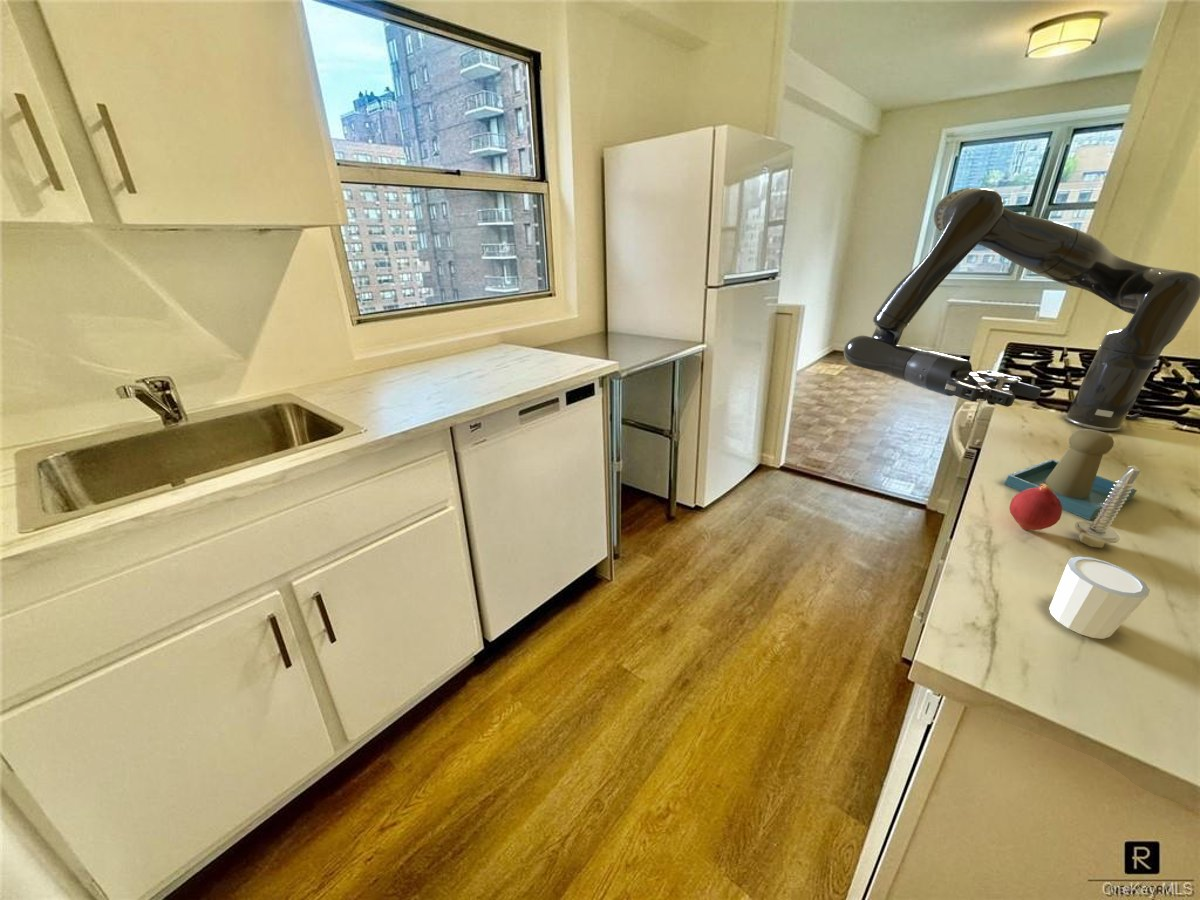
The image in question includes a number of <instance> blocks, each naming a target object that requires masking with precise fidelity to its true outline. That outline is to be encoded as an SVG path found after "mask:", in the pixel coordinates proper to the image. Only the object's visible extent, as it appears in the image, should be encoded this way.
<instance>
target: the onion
mask: <svg viewBox="0 0 1200 900" xmlns="http://www.w3.org/2000/svg"><path fill="white" fill-rule="evenodd" d="M1009 513H1010V515H1011V516H1012V518H1013V519H1014V521H1015V522H1016V523H1017V524H1018V525H1019V527H1020V528H1021V529H1022V530H1024V531H1040V530H1044V529H1048V528H1051V527H1052V526H1054V525H1057V524H1058V522H1059V521H1060V520H1061V516H1062V513H1063V509H1062V504H1061V502H1060V500H1059V498H1058V497H1057V496H1056V495H1055V494H1054V493H1053V492H1052V490H1051V489H1050V488H1049V486H1048V485H1046V484H1040V486H1039V488H1030V489H1026V490H1024V491H1019V492H1018V493H1017V494H1015V495H1014V496H1013V498H1011V500H1010V503H1009Z"/></svg>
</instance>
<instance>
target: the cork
mask: <svg viewBox="0 0 1200 900" xmlns="http://www.w3.org/2000/svg"><path fill="white" fill-rule="evenodd" d="M1068 444H1069V448H1068V449H1067V450H1066V452H1065V453H1064V454H1063V455H1062V457H1061V459H1060V460H1059V461H1058V462H1059V463H1058V464H1057V465H1056V467H1055V468H1054V469H1053V471H1052V472H1051V473H1050V475H1049V476H1048V478H1047V479H1046V480H1045V482H1044V484H1046V485H1048V486H1049V488H1050V489H1051V490H1052V491H1053V492H1055V493H1057V494H1060V495H1063V496H1067V497H1071V498H1077V499H1085V498H1088V497H1089V495H1090V492H1091V489H1092V486H1093V483H1094V480H1095V477H1096V475H1097V474H1098V472H1099V469H1100V465H1101V462H1102V459H1103V456H1104V455H1105V454H1106V455H1107V454H1108V453H1109V452H1110V451H1111V450H1112V449H1113V447H1114V445H1115V441H1114V438H1113V436H1111V435H1110V434H1108V433H1106V432H1105V431H1101V430H1095V429H1090V428H1081V429H1077V430H1075V431H1074V432H1072V434H1071V435H1070V437H1069V440H1068Z"/></svg>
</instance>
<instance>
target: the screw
mask: <svg viewBox="0 0 1200 900" xmlns="http://www.w3.org/2000/svg"><path fill="white" fill-rule="evenodd" d="M1140 472H1141V470H1140V469H1139V467H1138V466H1137V465H1129V466H1128V465H1127V467H1126V469H1125V470H1124V472H1123V473H1122V475H1121V477H1120V479H1119V480H1116V481H1115V482H1116V483H1117V484H1114V486H1115V487H1114V488H1111V489H1112V492H1110V493H1111V494H1110V495H1107V496H1108V499H1105V500H1106V502H1103V503H1104V505H1102V506H1101V507H1102V509H1099V510H1100V512H1098V516H1095V518H1093V519H1092V520H1093V521H1091V520H1080V521H1077V522H1075V523H1074V526H1073V527H1074V529H1075V530H1076V531H1077V532H1078V533H1080V534H1079V536H1078V538H1079V541H1080V543H1082V544H1085V545H1086V546H1088V547H1091V548H1104V546H1105V544H1116V543H1118V542H1119V541H1120V540H1121V537H1120V535H1119V534H1118V533H1117V531H1115V530H1114V528H1111V525H1113V522H1114V521H1115V519H1116V518H1117V515H1118V514H1119V512H1120V511H1121V508H1123V505H1124V504H1126V502H1124V500H1127V498H1126V497H1128V496H1129V494H1128V493H1131V489H1134V487H1133V486H1135V484H1136V483H1135V481H1136V479H1137V477H1138V475H1139V474H1140Z"/></svg>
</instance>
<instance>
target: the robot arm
mask: <svg viewBox="0 0 1200 900" xmlns="http://www.w3.org/2000/svg"><path fill="white" fill-rule="evenodd" d="M933 223H934V226H935V228H936V229H937V231H938V232H939V233H940V234H941V235H940V236H939V238H938V239H937V241H936V243H935V244H934V245H933V247H932V248H931V250H930V251H929V252H928V254H926V256H925V257H924V258H923V259H922V260H921V261H920V262H919V263H918V264H916V266H915V267H914V268H913V269H912V270H911V271H910V272H909V273H908V274H907V275H905V276H904V277H903V278H902V279H901V280H900V281H899V282H898V283H897V284H896V285H895V287H894V288H893V289H891V291H890V293H889V294H888V295H887V296H886V298H885V299H884V301H883V302H882V304H881V305H880V306H879V308H878V309H877V311H876V312H875V314H874V316H873V318H872V322H873V324H874V326H875V329H874V331H873V334H872V335H871V336H867V335H856V336H854V337H852V338H850V339H849V340H848V341H847V342H846V343H845V345H844V347H843V356H844V357H843V358H844V359H845V361H846V362H848V363H849V364H850V365H851V366H855V367H858V368H862V369H866V370H870V371H874V372H878V373H882V374H884V375H887V376H889V377H892V378H894V379H897V380H900V381H903V382H905V383H906V382H907V383H909V384H912V385H914V386H916V387H919V388H921V389H925V390H927V391H931V392H934V393H937V394H941V395H944V396H947V397H953V396H954V397H956V398H957V397H958V398H960V399H963V400H966V401H969V402H977V400H978V401H980V402H990V403H993V404H996V405H1000V406H1003V407H1006V408H1008V407H1011V406H1013V404H1014V402H1015V399H1016V395H1017V396H1020V397H1023V398H1028V399H1031V400H1036V399H1039V397H1040V395H1041V393H1042V391H1043V389H1042V387H1040V386H1036V385H1033V384H1029V383H1025V382H1021V381H1022V380H1023V379H1022V377H1020V376H1015V375H1012V374H1011V375H1010V374H1007V373H1006V374H1005V373H1002V372H998V371H995V370H994V371H993V370H991V369H989V370H986V371H982V370H981V371H980V370H978V371H977V372H975V371H974V370H973V368H972V367H973V366H972V363H971V361H969V360H968V359H964V358H961V357H957V356H953V355H948V354H945V353H940V352H937V351H931V350H924V349H919V348H916V347H912V346H907V345H901V344H900V345H899V342H900V340H901V337H902V336H903V332H904V331H905V329H906V328H907V327H908V326H909V324H910V323H911V322H912V320H913V319H914V317H915V316H916V315H917V314H918V312H919V311H920V310H921V308H922V307H923V306H924V304H925V303H926V302H927V300H928V299H929V298H930V297H931V295H932V294H933V293H934V292H935V290H936V289H937V288H938V287H939V286H940V285H941V284H942V282H944V280H945V279H946V278H947V277H948V276H949V275H950V273H952V272H953V270H955V268H956V267H957V266H958V265H959V264H960V263H961V262H962V261H963V260H964V259H965V258H966V257H967V256H968V255H969V253H971V252H972V251H973V250H974V249H975V248H976V247H977V246H982V247H984V248H986V249H989V250H990V251H992V252H994V253H996V254H998V255H1000V256H1001V257H1003V258H1004V259H1006V260H1008V261H1010V262H1012V263H1014V264H1016V265H1018V266H1019V267H1022V268H1024V269H1026V270H1027V271H1030V272H1031V273H1034V274H1036V275H1039V276H1041V277H1044V278H1046V279H1048V280H1051V281H1053V282H1057V283H1059V284H1063V285H1065V286H1069V287H1073V288H1077V289H1081V290H1085V291H1087V292H1090V293H1091V294H1093V295H1095V296H1097V297H1098V298H1101V299H1103V300H1104V301H1106V302H1107V303H1109V304H1110V305H1112V306H1114V307H1115V308H1117V309H1119V310H1120V311H1123V312H1125V313H1128V314H1130V315H1133V316H1132V317H1131V319H1130V321H1129V322H1128V324H1127V325H1126V326H1125V327H1124V328H1122V329H1119V330H1113V331H1109V332H1107V333H1106V334H1105V335H1104V336H1103V338H1102V340H1101V342H1100V345H1099V346H1098V349H1097V351H1096V353H1095V355H1094V357H1093V360H1092V361H1091V363H1090V366H1089V367H1088V369H1087V371H1086V373H1085V375H1084V377H1083V379H1082V382H1081V384H1080V385H1079V388H1078V390H1077V392H1076V394H1075V395H1074V398H1073V400H1072V402H1071V404H1070V406H1069V408H1068V410H1067V412H1066V413H1065V415H1064V419H1065V420H1066V421H1067V422H1069V423H1071V424H1074V425H1076V426H1079V427H1082V428H1085V429H1092V430H1097V431H1101V432H1118V431H1120V429H1121V428H1122V425H1123V423H1124V421H1125V420H1129V421H1130V420H1136V419H1138V418H1142V417H1144V416H1143V415H1140V414H1139V413H1135V414H1133V415H1129V412H1131V411H1132V409H1133V408H1134V405H1135V404H1136V402H1137V398H1138V396H1139V394H1140V392H1141V391H1142V389H1143V387H1144V386H1145V383H1146V381H1147V379H1148V377H1149V376H1150V374H1151V372H1152V371H1153V368H1154V367H1155V365H1156V363H1157V361H1158V359H1159V358H1160V355H1161V354H1162V352H1163V350H1164V349H1165V347H1167V346H1168V345H1169V344H1170V343H1171V342H1173V340H1175V338H1176V337H1177V336H1178V334H1179V333H1180V331H1181V330H1182V329H1183V327H1184V325H1185V323H1186V322H1187V320H1188V319H1189V317H1190V316H1191V314H1192V312H1193V311H1194V309H1195V307H1196V306H1197V304H1198V302H1199V301H1200V277H1199V275H1197V274H1195V273H1193V272H1190V271H1184V270H1178V269H1170V268H1163V267H1156V266H1155V267H1154V266H1150V265H1146V264H1145V265H1144V264H1141V263H1137V262H1134V261H1131V260H1128V259H1124V258H1122V257H1120V256H1117V255H1116V254H1115V253H1113V252H1112V251H1111V250H1110V249H1109V247H1108V246H1107V245H1106V244H1105V243H1103V241H1101V240H1100V239H1098V238H1097V237H1095V236H1093V235H1092V234H1089V233H1087V232H1084V231H1082V230H1080V229H1077V228H1075V227H1072V226H1070V225H1067V224H1063V223H1060V222H1057V221H1053V220H1050V219H1047V218H1040V217H1036V216H1032V215H1027V214H1022V213H1019V212H1015V211H1013V210H1011V209H1008V208H1006V207H1005V204H1004V200H1003V198H1002V196H1001V195H1000V193H999V192H997V191H996V190H993V189H989V188H979V187H965V188H961V189H956V190H954V191H952V192H950V193H948V194H946V195H945V196H944V197H943V198H942V199H941V200H940V201H939V202H938V203H937V204H936V206H935V209H934V212H933ZM1006 383H1009V385H1008V384H1006ZM1127 414H1128V415H1129V416H1127Z"/></svg>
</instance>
